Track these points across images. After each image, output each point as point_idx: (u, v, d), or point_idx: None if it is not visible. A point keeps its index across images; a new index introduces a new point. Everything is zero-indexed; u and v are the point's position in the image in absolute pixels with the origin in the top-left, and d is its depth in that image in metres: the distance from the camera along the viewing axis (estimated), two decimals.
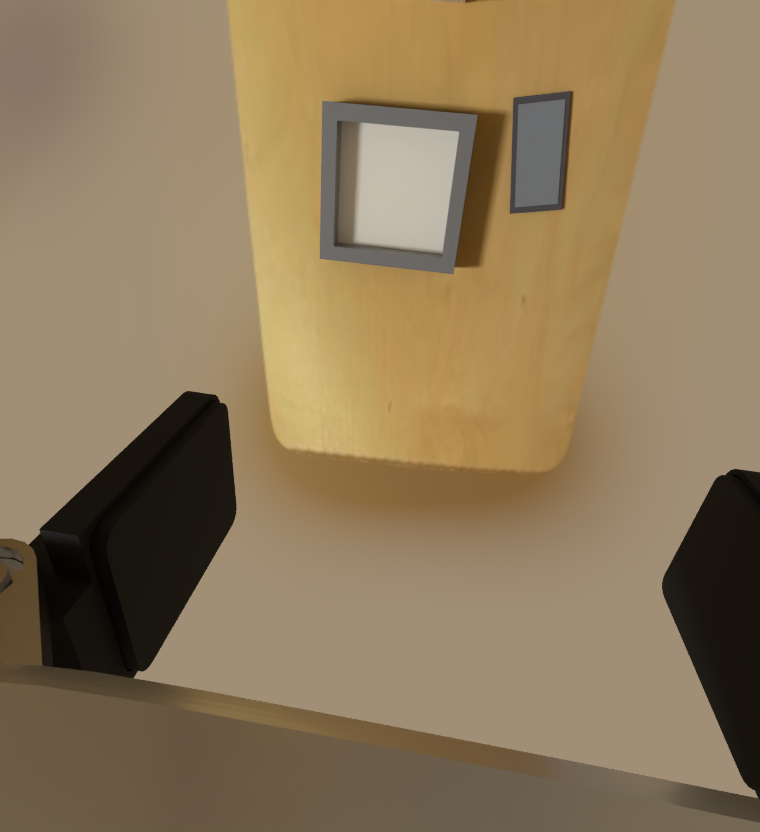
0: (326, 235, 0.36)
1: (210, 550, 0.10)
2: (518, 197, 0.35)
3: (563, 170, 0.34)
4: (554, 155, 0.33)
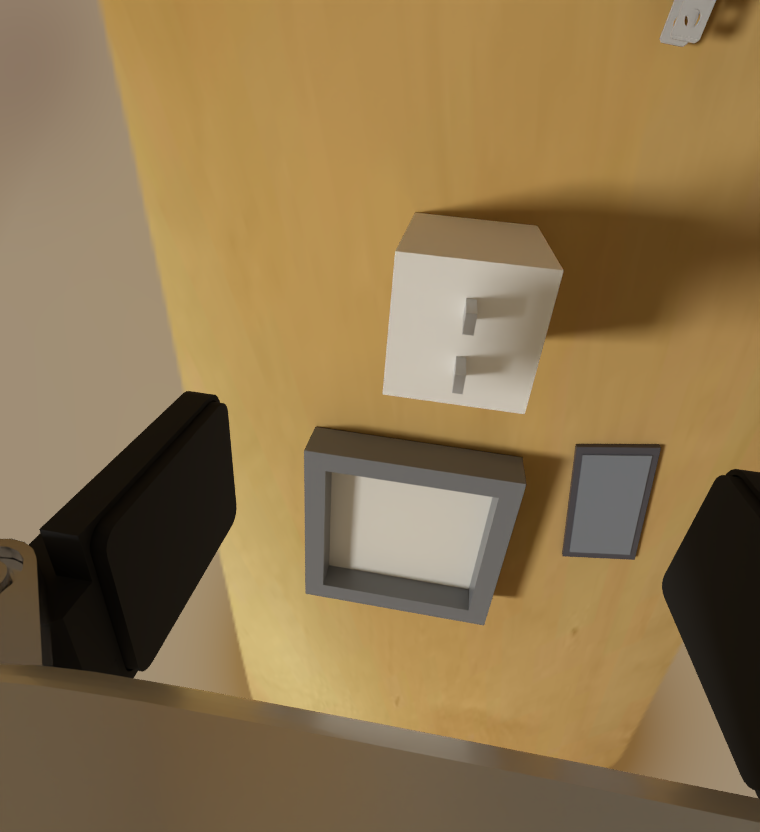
0: (313, 574, 0.27)
1: (210, 550, 0.10)
2: (575, 542, 0.25)
3: (641, 523, 0.24)
4: (630, 509, 0.24)
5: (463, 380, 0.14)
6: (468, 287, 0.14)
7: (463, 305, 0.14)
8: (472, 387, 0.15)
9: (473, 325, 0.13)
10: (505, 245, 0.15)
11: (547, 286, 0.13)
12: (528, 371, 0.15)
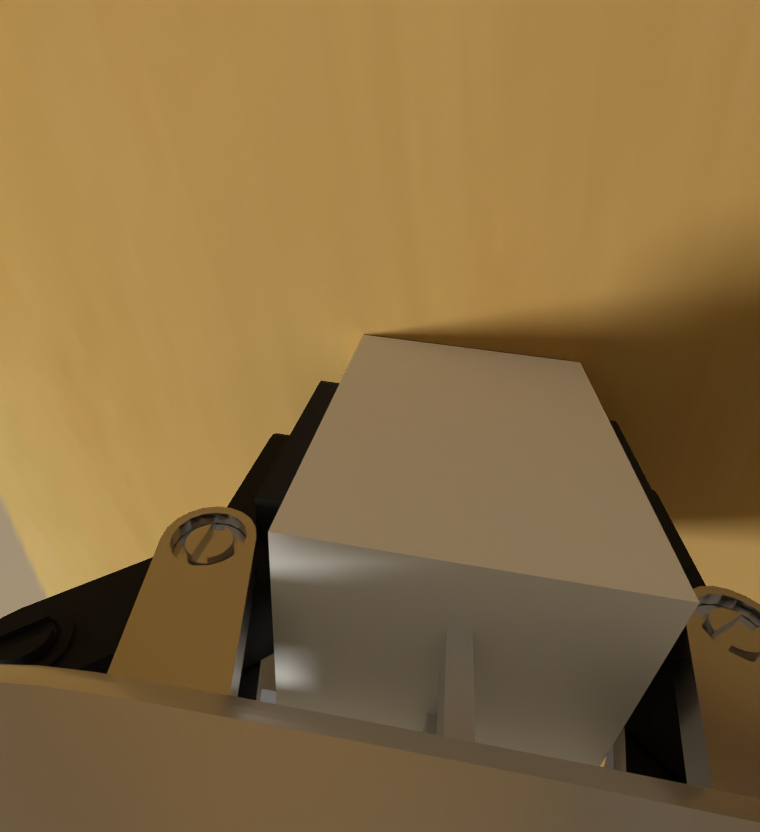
0: None
1: None
2: None
3: None
4: None
5: None
6: (451, 611, 0.06)
7: (440, 640, 0.06)
8: None
9: None
10: (533, 458, 0.07)
11: (652, 627, 0.05)
12: (589, 752, 0.07)
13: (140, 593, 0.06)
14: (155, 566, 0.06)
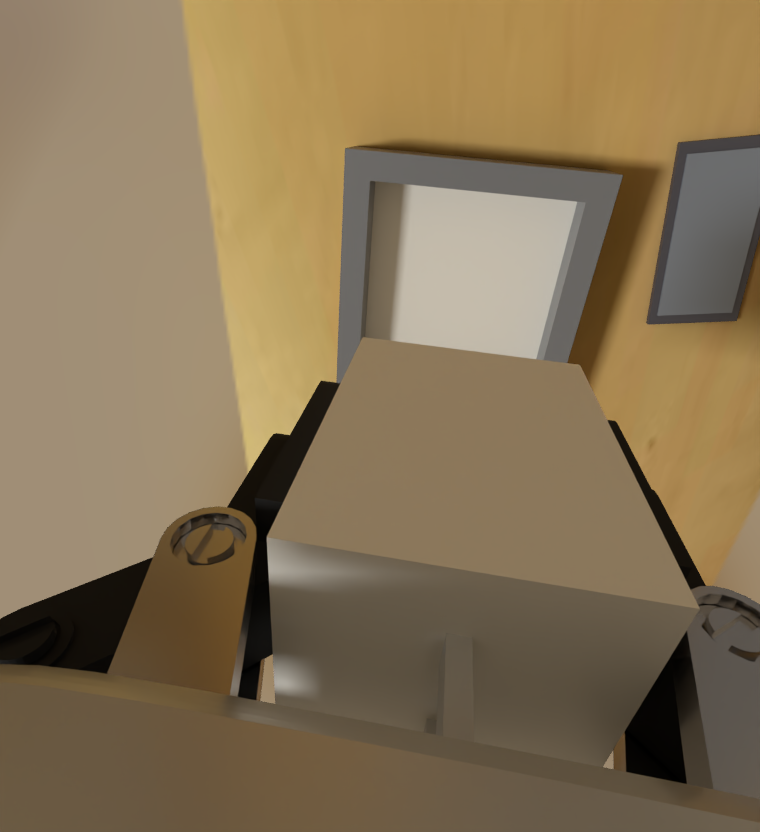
0: (347, 355, 0.23)
1: None
2: (665, 301, 0.21)
3: (750, 261, 0.20)
4: (739, 238, 0.20)
5: None
6: (451, 615, 0.06)
7: (440, 645, 0.06)
8: None
9: None
10: (533, 462, 0.07)
11: (652, 633, 0.05)
12: (589, 757, 0.07)
13: (140, 593, 0.06)
14: (155, 566, 0.06)
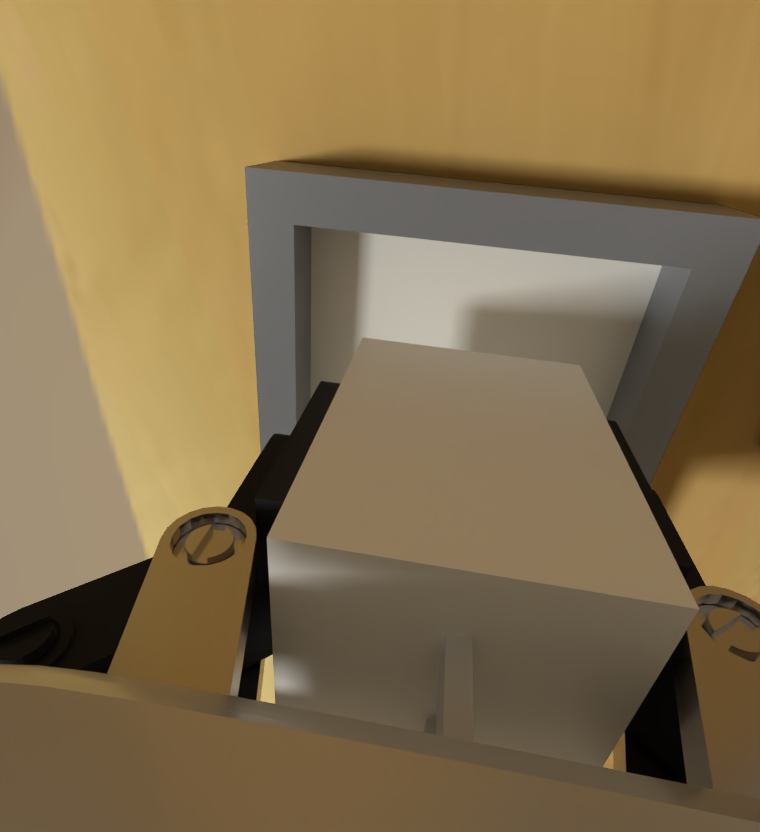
0: None
1: None
2: None
3: None
4: None
5: None
6: (451, 616, 0.06)
7: (440, 646, 0.06)
8: None
9: None
10: (533, 463, 0.07)
11: (651, 633, 0.05)
12: (589, 757, 0.07)
13: (140, 593, 0.06)
14: (155, 566, 0.06)
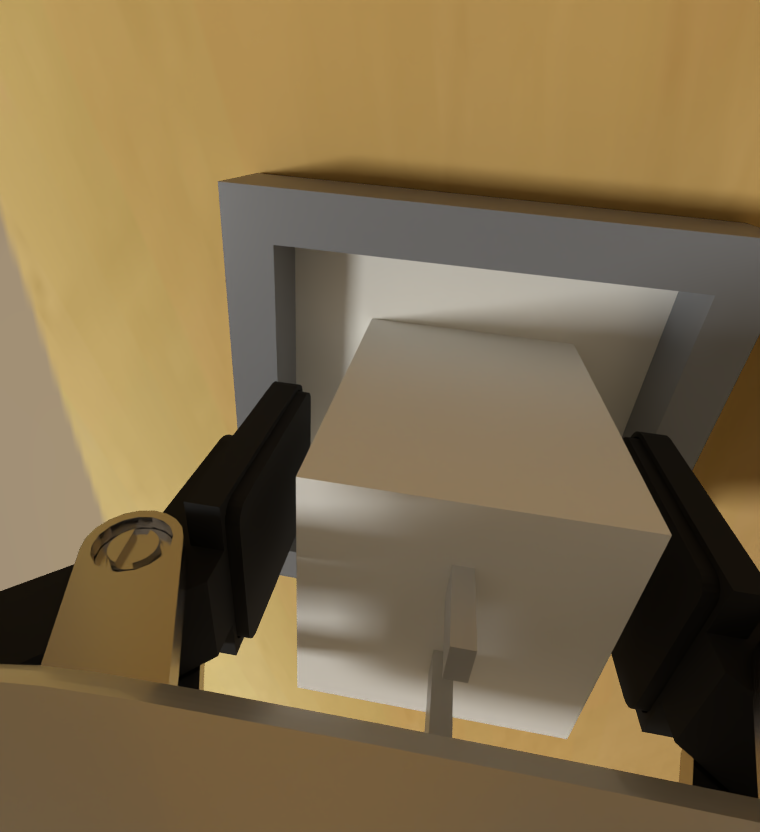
0: None
1: (293, 531, 0.10)
2: None
3: None
4: None
5: None
6: (456, 547, 0.06)
7: (446, 576, 0.07)
8: (466, 695, 0.08)
9: (467, 668, 0.06)
10: (529, 422, 0.08)
11: (631, 559, 0.06)
12: (579, 683, 0.07)
13: (62, 607, 0.05)
14: (76, 578, 0.06)
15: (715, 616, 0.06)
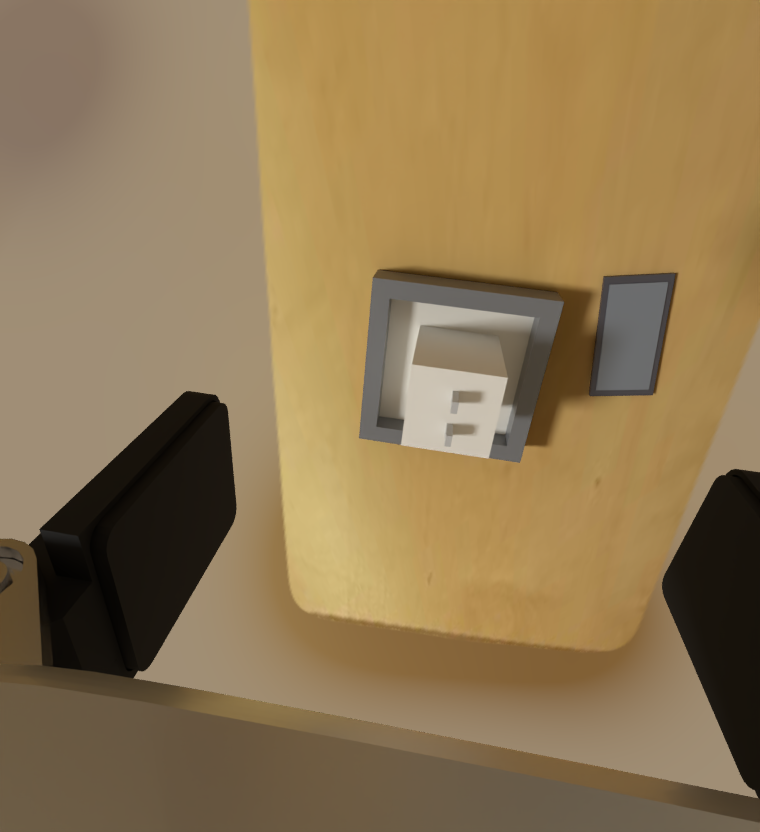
0: (368, 415, 0.30)
1: (210, 550, 0.10)
2: (601, 380, 0.29)
3: (658, 355, 0.28)
4: (649, 339, 0.28)
5: (451, 439, 0.24)
6: (453, 385, 0.24)
7: (451, 394, 0.24)
8: (456, 441, 0.25)
9: (456, 408, 0.23)
10: (476, 356, 0.25)
11: (499, 385, 0.23)
12: (490, 433, 0.25)
13: None
14: None
15: None
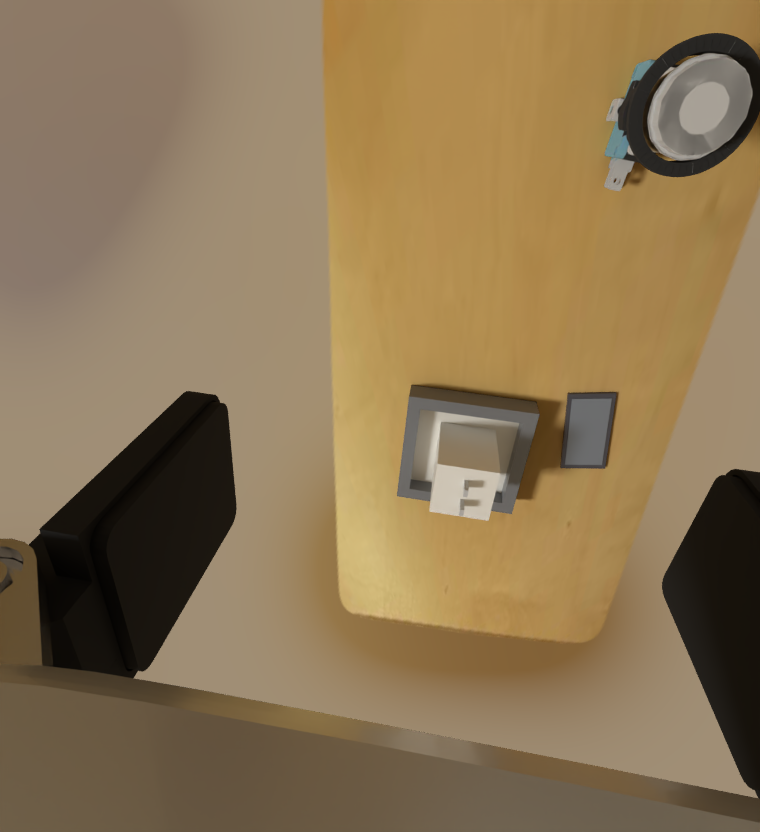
0: (404, 481, 0.43)
1: (210, 550, 0.10)
2: (568, 458, 0.41)
3: (607, 443, 0.40)
4: (600, 433, 0.40)
5: (463, 511, 0.36)
6: (465, 476, 0.36)
7: (463, 482, 0.36)
8: (466, 510, 0.38)
9: (467, 494, 0.35)
10: (480, 453, 0.37)
11: (494, 477, 0.36)
12: (489, 505, 0.37)
13: None
14: None
15: None
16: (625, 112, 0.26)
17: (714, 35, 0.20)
